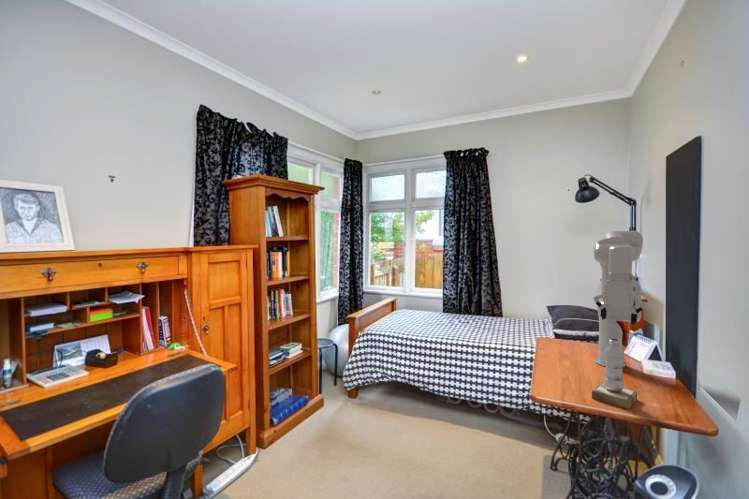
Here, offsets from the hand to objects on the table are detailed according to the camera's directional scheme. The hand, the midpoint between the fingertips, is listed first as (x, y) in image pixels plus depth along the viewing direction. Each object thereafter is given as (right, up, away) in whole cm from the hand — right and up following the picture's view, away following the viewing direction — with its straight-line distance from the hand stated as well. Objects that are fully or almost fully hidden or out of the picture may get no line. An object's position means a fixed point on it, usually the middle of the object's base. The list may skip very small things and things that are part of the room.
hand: (618, 321), depth 138 cm
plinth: (-1, -31, +1) cm, 31 cm away
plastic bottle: (-1, -27, +1) cm, 27 cm away
